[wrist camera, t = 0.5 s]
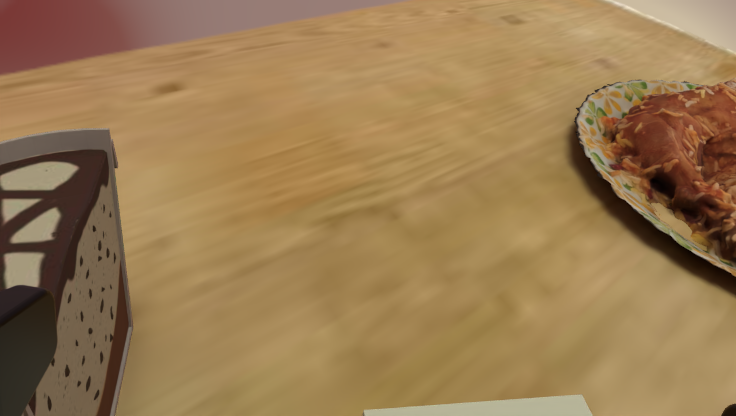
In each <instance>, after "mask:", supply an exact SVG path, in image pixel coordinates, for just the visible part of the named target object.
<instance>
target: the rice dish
mask: <svg viewBox="0 0 736 416" xmlns="http://www.w3.org/2000/svg"><path fill="white" fill-rule="evenodd" d="M607 85H609V84H607ZM610 86H611V87H610ZM595 92H596V93H592V94H591V95H588V96H587V98H586V100H585V101H584V102H583V103H582V105H581V107H580V108H576V109H577V110H578V111H579V113H578V114H577V117H575V121H574V122H575V123H576V126H577V132H576V133H578V134H576V135H577V137H578V139H579V141H580V144H579V145H580V146H581V147H582V149H583V152H584V153H586V154H585V156H587V157H589V158H591V163H592V165H593V167H594V168H595V170H596V172H599V171H600V172H599V173H598V174H597V176H599V177H600V178H603V179H605V180H607V181H609V182H610V183H611V187H612V191H613V192H614V193H615V194H616V196H617V197H619V198H622V199H624V200H625V201H626V202H628V203H629V204H630V205H631V206H632V207H633V210H634V211H636V212H638V213H640V214H641V215H643V216H644V218H645V219H646V220H647V221H649V222H650V223H651V224H652V225H653V226H654V227H655V228H656V229H657V230H660V231H662V232H665V233H667V234H669V235H671V236H672V237H673V238H674V239H675V241H676V242H677V243H678V244H680V245H682V246H683V247H685V248H687V249H689V250H690V251H692V252H693V253H694V254H696V255H698V256H699V257H701V258H703V259H704V260H706V261H708V262H709V263H711V264H713V265H715V266H717V267H719V268H721V269H723V270H726V271H728V272H730V273H732V275H733V276H735V277H736V78H734V79H732V80H730V81H727V82H724V83H723V82H720V83H718V84H717V85H715V86H708V85H696V84H692V83H689V82H685V81H684V82H677V81H672V82H667V81H663V80H653V81H647V80H631V81H628V82H627V83H625V82H617V83H614V84H612V85H609V86H604V87H602V88H601V89H598V90H595ZM651 203H661V204H662V205H663V206H664V207H665V208H668V209H672V210H673V211H674V214H675V217H676V218H677V219H680V220H682V221H684V222H685V223H686V224H687V225H688V226H689V227H690V228H691V230H692V235H691V238H692V239H693V240H694V241H695V242H697V243H699V244H702V245H704V246H707V251H704V250H701V249H700V248H698V247H697V246H696V245H695V244H694V243H692V242H690V241H689V240H687V239H686V238H684V237H683V236H681V235H680V234H678V233H677V232H676V231H674V230H673V229H672V228H671V227H670V226H669V225H668V224H666V223H665V222H663V221H661V220H660V219H659V218H658V217H657V216H656V214H655V213H654V212H653V211H656V209H655V208H654V207H653V206H652V205H651ZM671 204H672V206H670V205H671ZM656 212H657V211H656ZM659 215H660V214H659Z"/></svg>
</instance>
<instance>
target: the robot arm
mask: <svg viewBox="0 0 736 416" xmlns="http://www.w3.org/2000/svg"><path fill="white" fill-rule="evenodd" d="M57 343H58V336H57V322H56V309H55V299H54V296H53V293H52V292H51V291H50V290H48V289H45V288H40V287H34V286H28V285H16V286H13V287H10V288H7V289H5V290H2V291H0V416H22V414H23V412H24V411H25V409H26V407H27V405H28V403H29V401H30V400H31V398H32V396H33V394H34V392H35V391H36V389H37V387H38V385H39V383H40V382H41V380H42V378H43V376H44V374H45V372H46V371H47V369H48V367H49V365H50V363H51V362H52V360H53V358H54V355H55V352H56V349H57ZM721 416H736V404H732V405H729V406H728V407H727V408H725V410H724V411H723V413H722V415H721Z"/></svg>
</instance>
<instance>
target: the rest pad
mask: <svg viewBox="0 0 736 416" xmlns="http://www.w3.org/2000/svg"><path fill="white" fill-rule="evenodd" d="M363 416H592V414H591V412H590V410H589V408H588V406H587V404H586V402H585V399H584V397H583V395H582V394H581V395H567V396H553V397H540V398H526V399H512V400H498V401H484V402H470V403H457V404H443V405H429V406H415V407H401V408H387V409H374V410H364V411H363Z"/></svg>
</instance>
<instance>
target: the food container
mask: <svg viewBox="0 0 736 416" xmlns="http://www.w3.org/2000/svg"><path fill="white" fill-rule="evenodd" d="M114 168H118V162H117V157H116V153H115V148H114V144H113V139H111V137H110V131H109V128H83V129H70V130H58V131H51V132H45V133H38V134H32V135H27V136H23V137H19V138H14V139H10V140H6V141H2V142H0V291H2V290H5V289H7V288H10V287H13V286H16V285H28V286H34V287H40V288H45V289H48V290H50V291H51V292H52V293H53V296H54V299H55V309H56V322H57V336H58V343H57V349H56V352H55V355H54V358H53V360H52V362H51V363H50V365H49V367H48V369H47V371H46V372H45V374H44V376H43V378H42V380H41V382H40V383H39V385H38V387H37V389H36V391H35V392H34V394H33V396H32V398H31V400H30V401H29V403H28V405H27V407H26V409H25V411H24V412H23V414H22V416H115V413H116V408H117V403H118V398H119V393H120V389H121V384H122V379H123V374H124V369H125V364H126V359H127V354H128V350H129V345H130V340H131V335H132V330H133V321H132V313H131V305H130V296H129V288H128V279H127V271H126V262H125V254H124V245H123V237H122V229H121V220H120V212H119V203H118V195H117V186H116V178H115V169H114Z"/></svg>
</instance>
